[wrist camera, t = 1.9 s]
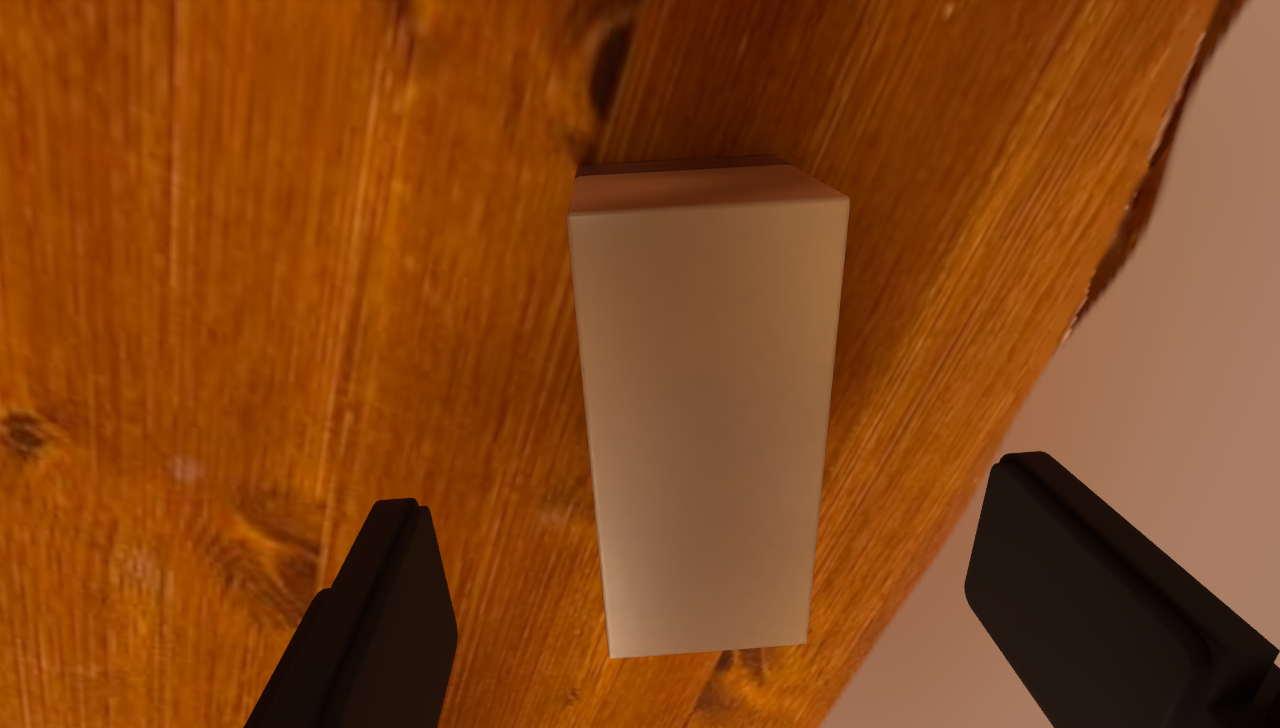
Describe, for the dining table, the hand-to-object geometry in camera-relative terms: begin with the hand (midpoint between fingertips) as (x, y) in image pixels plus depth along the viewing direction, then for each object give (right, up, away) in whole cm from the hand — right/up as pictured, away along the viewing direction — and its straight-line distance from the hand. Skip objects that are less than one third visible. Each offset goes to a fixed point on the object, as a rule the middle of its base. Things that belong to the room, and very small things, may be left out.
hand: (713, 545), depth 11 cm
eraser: (0, +3, +6) cm, 7 cm away
